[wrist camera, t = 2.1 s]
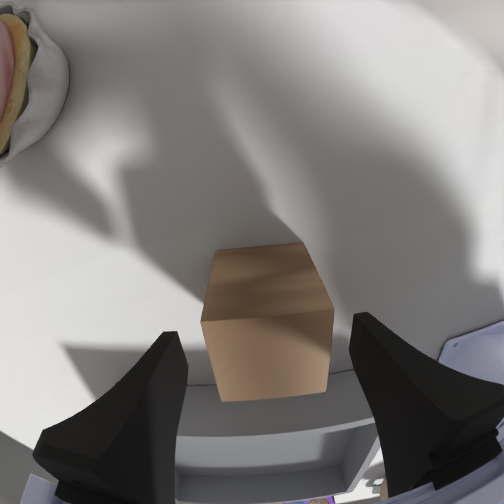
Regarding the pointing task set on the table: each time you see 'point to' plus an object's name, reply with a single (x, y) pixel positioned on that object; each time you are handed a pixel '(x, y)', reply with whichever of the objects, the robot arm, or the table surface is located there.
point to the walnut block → (267, 323)
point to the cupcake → (28, 80)
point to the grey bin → (273, 445)
